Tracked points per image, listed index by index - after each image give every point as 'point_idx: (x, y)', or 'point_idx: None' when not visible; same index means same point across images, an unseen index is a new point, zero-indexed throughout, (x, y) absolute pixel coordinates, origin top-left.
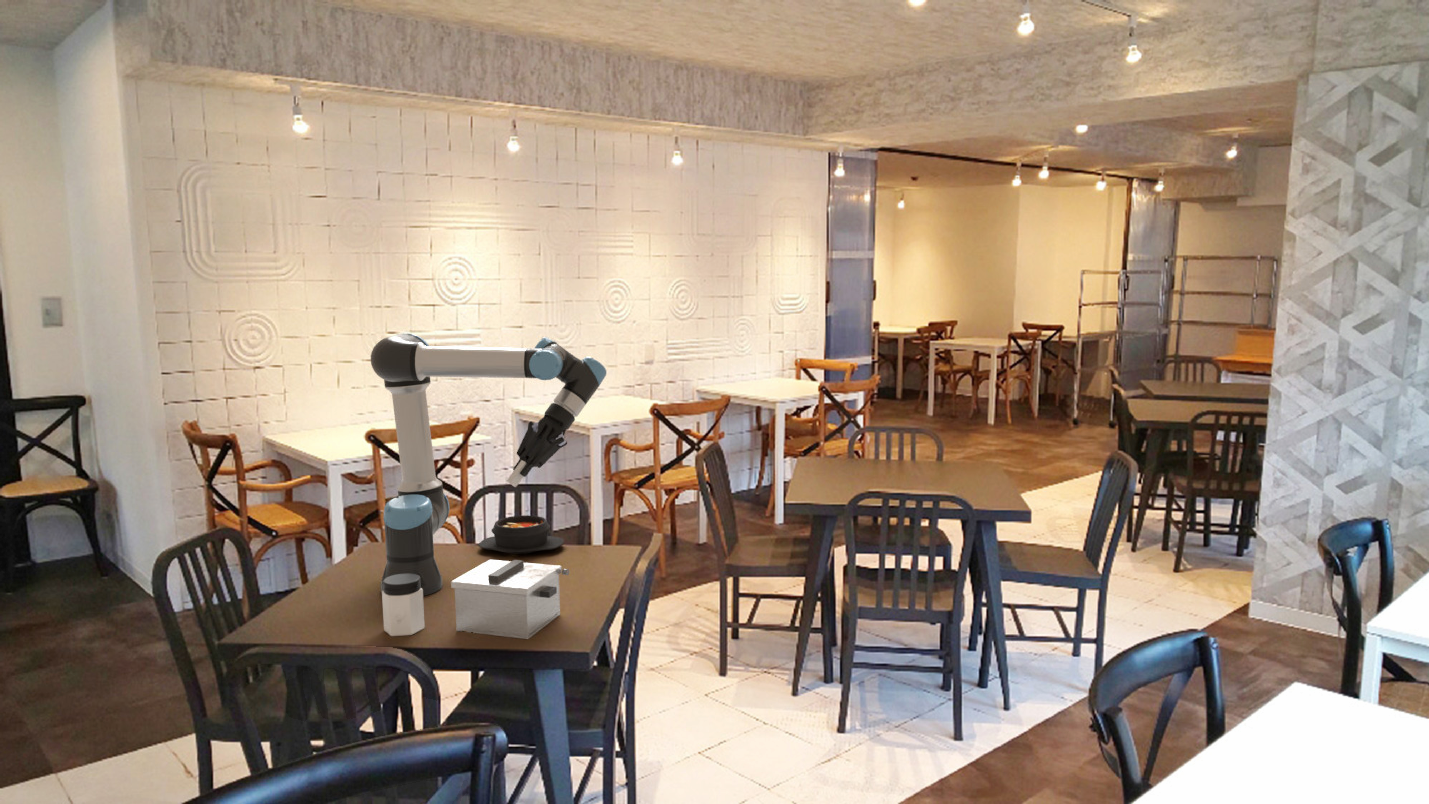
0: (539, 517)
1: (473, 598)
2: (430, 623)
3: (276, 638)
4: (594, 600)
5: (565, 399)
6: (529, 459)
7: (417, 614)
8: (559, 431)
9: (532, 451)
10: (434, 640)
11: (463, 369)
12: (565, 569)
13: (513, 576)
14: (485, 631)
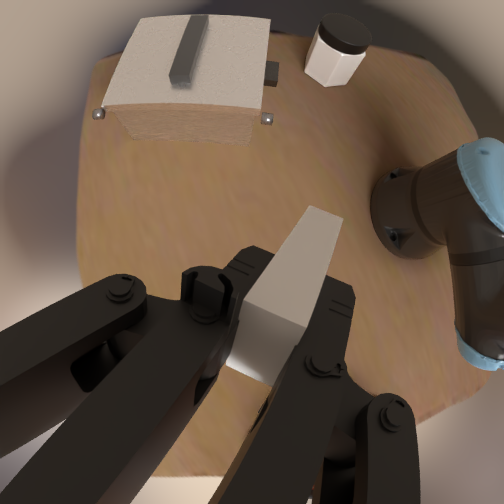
0: (311, 496)
1: None
2: (307, 86)
3: (421, 65)
4: (97, 209)
5: None
6: (199, 329)
7: (310, 50)
8: None
9: (220, 489)
10: (270, 46)
11: None
12: (97, 110)
13: (174, 43)
14: None
